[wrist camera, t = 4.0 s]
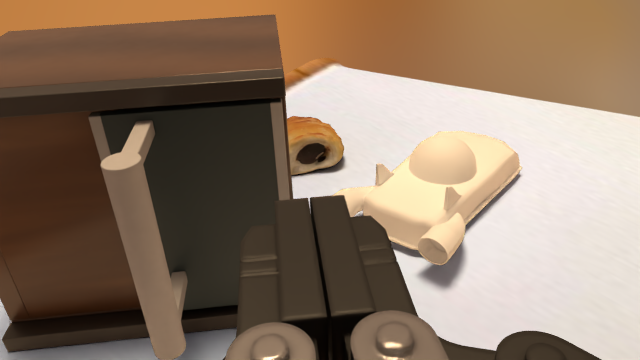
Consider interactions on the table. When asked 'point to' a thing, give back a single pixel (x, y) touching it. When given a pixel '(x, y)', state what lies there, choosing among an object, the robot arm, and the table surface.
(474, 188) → the plane toy
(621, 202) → the table surface
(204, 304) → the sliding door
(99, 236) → the cupboard
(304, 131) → the pastry
